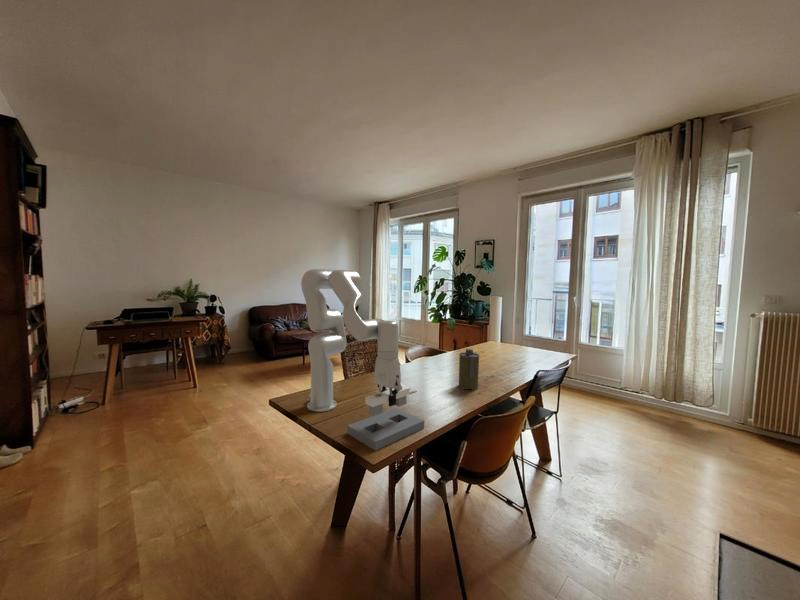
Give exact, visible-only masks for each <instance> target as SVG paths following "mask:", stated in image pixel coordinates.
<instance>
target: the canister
mask: <svg viewBox="0 0 800 600" xmlns="http://www.w3.org/2000/svg"><path fill="white" fill-rule="evenodd" d="M458 356H459V360H458V361H459V363H458V364H459V366H458V367H459V368H458V388H459V387H460V389H461V388H463V389H462V390H464V389H472V390H471V391H474V390H473V389H476V390H478V389H479V366H480V354H478V353H475V352H474V350H473V349H471V348H465V351H464V352H460V353H459V355H458ZM477 388H478V389H477Z"/></svg>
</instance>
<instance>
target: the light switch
mask: <svg viewBox="0 0 800 600" xmlns="http://www.w3.org/2000/svg"><path fill="white" fill-rule="evenodd" d="M400 384H401V386H404V387H407V388H409V395H410V394H414V393H417V392H418V391H417V389H416V388H413V387H410V386H407V385H405V384H404V383H403V382H401V383H400ZM392 389H393V388H392ZM387 390H389V388H387Z"/></svg>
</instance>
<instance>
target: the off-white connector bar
mask: <svg viewBox="0 0 800 600" xmlns="http://www.w3.org/2000/svg"><path fill="white" fill-rule="evenodd" d="M407 387H408V386H407ZM407 387H404V386H402V390H400V391H399V392H398V393H397V394H396V405H395V406H396V407H398V408H399V407H402V406H404V405H407V396H408V395H410V394H409V388H407ZM392 390H394V388H393V389H392ZM389 395H390V392H389V390H387V391H384V392H378V393H375V394H370V395H368V396H367V395H366V396H365V401H364V402H365V404H364V405H366V406H368V414H369V415H371V416H375V415H378V414H380V413H383V412H384V411H383V410H384V409H383V408H384V407H383V405H384V404H386V403H389Z"/></svg>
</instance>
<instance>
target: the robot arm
mask: <svg viewBox="0 0 800 600" xmlns="http://www.w3.org/2000/svg"><path fill="white" fill-rule="evenodd" d="M361 284H362V277H361V275H360V274H359V273H358V272H357V271H355V270H351V269H325V268H324V269H323V268H313V269H309V270H307V271H305V272H304V274H303V275H302V278H301V282H300V285H301V287H300V288H301V291H302V293H303V294H302V295H303V297H304V300H305V306H306V314H307V321H308V327H309V329H310V330H311V331H312V332H314V333H320V332H327V331H328V332H329V333H324V334H319V335H315V336H313V337H311V339H310V340H309V341H308V345H307V346H308V347H307V348H308V354H309V358H310V359H309V360H310V394H309V395H308V398H310V401H309V402H308V403H307V405H306V408H307V409H308V410H309V411H312V412H317V413H323V412H328V411H331V410H333V409H335V408H336V407H337V406H338V405H337V404H338V403H337V401H336V400H335V399H334V364H333V362H332V361H331V359H330V356H333V355H337V354H341V353H342V352H344V351H345V350H346V348H347V344H348V343H347V336H346V329H347V330H348V332H349V333H350V335H351V336H352V337H353V338H354V339H355V340H357V341H360V342H365V341H371V340H376V339H377V357H376V359H375V364H374V376H373V377H374V383H375V384H376V386H377V388H378V393H380V392H384V391H387V390H386V389H387V388H389V392H390V395H389V402H388V407H393V406H396V394H397V393H398V392H399V391H400V390H402V386H401V384H400V383H402V382H401V381H402V377H401V376H402V372H401V364H400V359H399V324H398V322H397V321H394V320H384V319H382V318H369V319H362V318H361V317H360V315H359V314H358V312H357V310H356V308H357V307H358V306H359V305H360V304H361V302H362V301H363V294H362V293H361V292H360V290H359V288H360V287H361ZM323 289H324V290H325V289H327V290H330V289H331V290H332V291H333V292H334V294H335V295H336V297H337V298H338V300H339V301H340V302H341V303H340V304H341V305H342V306H343V310H342V312H341V311H339V310H338V309H336V308H335V309H333V308H330V309H329V308H328V307H327V301H326V297H325V296H324V294H323V293H322V292H321V291H320V290H323ZM392 388H394V390H392Z"/></svg>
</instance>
